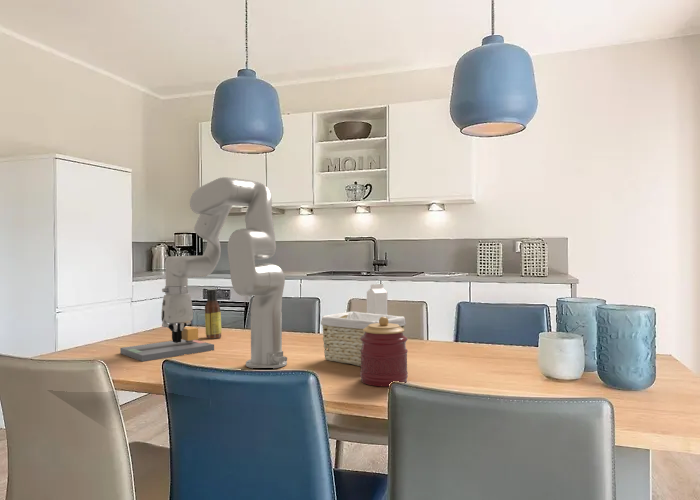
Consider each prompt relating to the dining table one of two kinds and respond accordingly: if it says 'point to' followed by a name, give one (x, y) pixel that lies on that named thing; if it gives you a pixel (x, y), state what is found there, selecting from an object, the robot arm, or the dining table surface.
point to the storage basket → (349, 334)
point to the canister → (383, 354)
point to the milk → (377, 300)
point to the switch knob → (189, 334)
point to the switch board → (165, 349)
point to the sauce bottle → (212, 315)
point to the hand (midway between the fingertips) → (176, 342)
